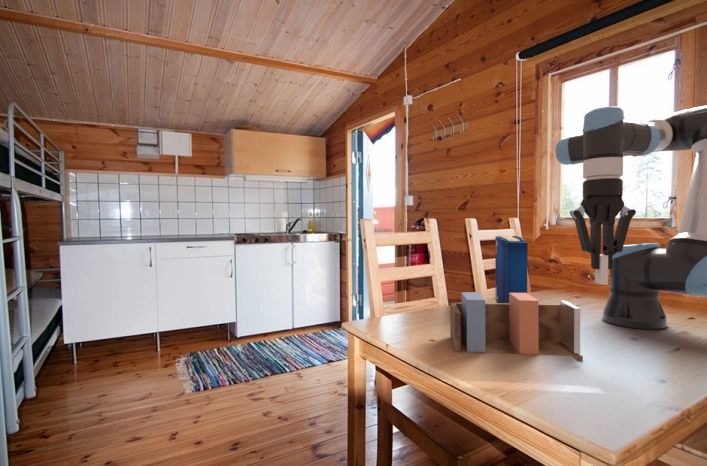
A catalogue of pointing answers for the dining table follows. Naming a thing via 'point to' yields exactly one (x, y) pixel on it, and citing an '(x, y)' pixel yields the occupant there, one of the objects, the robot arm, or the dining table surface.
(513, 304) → the book
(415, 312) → the dining table surface
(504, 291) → the book
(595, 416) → the dining table surface
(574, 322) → the bookend
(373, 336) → the dining table surface
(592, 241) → the robot arm
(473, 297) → the book
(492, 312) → the shelf
